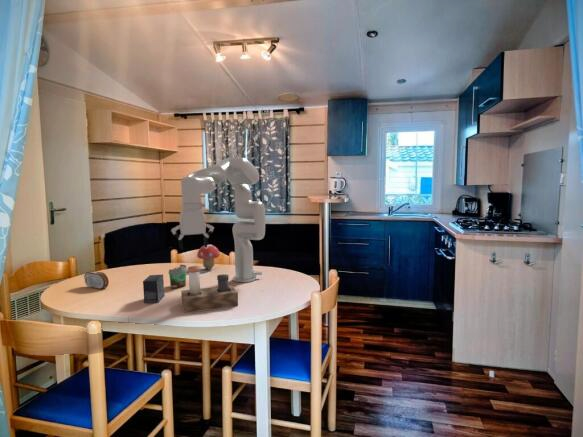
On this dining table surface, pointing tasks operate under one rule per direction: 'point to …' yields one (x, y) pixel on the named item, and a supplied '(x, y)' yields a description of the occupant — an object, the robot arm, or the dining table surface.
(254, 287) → the dining table surface
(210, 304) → the block
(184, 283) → the food container
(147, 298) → the small box
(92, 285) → the tin
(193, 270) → the orange-brown and white plug
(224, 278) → the black plug
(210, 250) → the decorative mushroom
